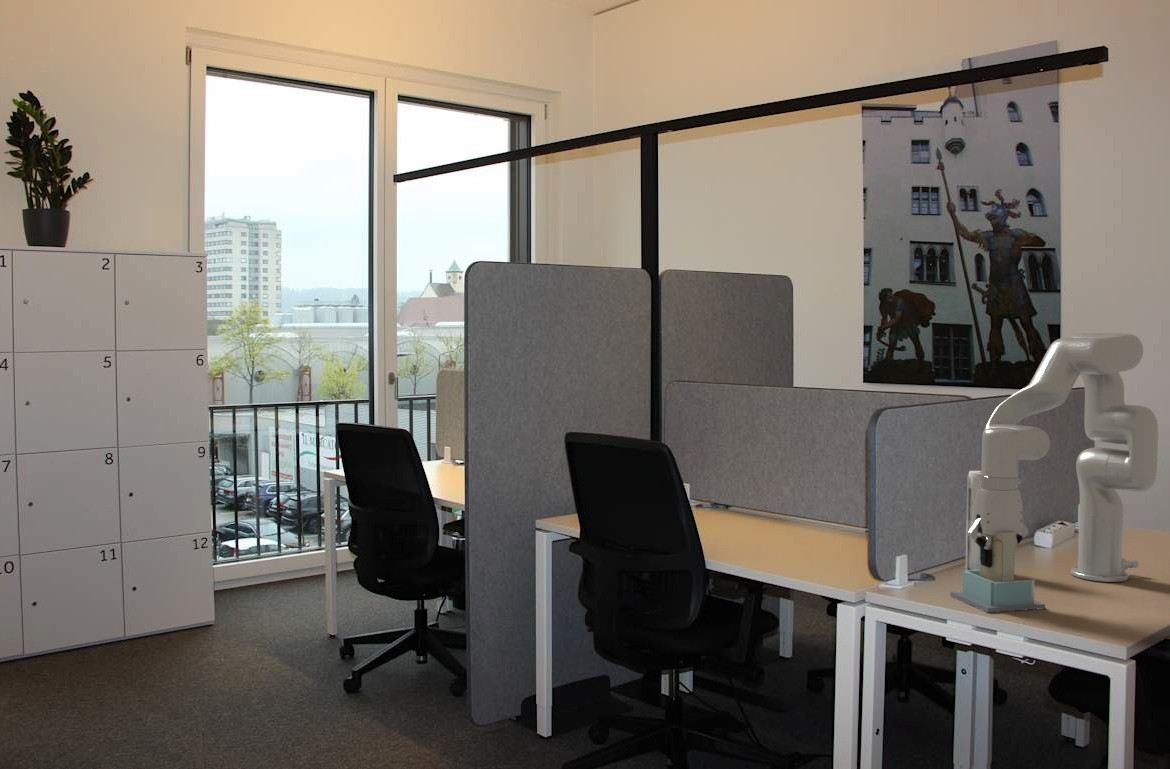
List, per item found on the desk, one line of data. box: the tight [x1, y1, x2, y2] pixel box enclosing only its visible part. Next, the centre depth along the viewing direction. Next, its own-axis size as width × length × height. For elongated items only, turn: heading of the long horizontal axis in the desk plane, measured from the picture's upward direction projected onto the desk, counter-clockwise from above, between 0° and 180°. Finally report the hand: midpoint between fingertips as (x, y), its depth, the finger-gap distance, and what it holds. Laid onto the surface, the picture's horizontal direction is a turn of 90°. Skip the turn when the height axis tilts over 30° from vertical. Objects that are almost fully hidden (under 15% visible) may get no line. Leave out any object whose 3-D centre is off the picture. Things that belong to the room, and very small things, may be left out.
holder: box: [949, 569, 1046, 613], centre depth 222 cm, size 14×14×6 cm
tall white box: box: [965, 470, 981, 570], centre depth 251 cm, size 6×6×25 cm
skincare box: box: [980, 532, 1016, 582], centre depth 221 cm, size 6×4×12 cm
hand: (997, 564), depth 221 cm, fingers closed on skincare box, 4 cm apart
